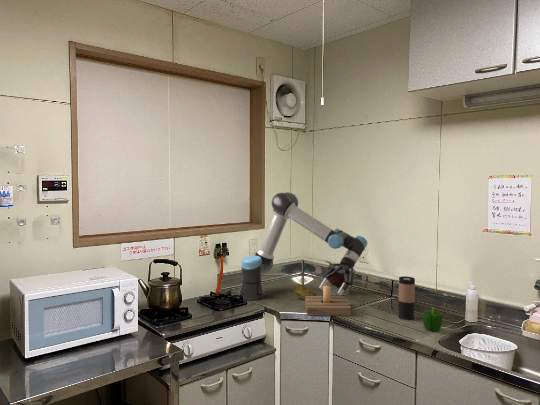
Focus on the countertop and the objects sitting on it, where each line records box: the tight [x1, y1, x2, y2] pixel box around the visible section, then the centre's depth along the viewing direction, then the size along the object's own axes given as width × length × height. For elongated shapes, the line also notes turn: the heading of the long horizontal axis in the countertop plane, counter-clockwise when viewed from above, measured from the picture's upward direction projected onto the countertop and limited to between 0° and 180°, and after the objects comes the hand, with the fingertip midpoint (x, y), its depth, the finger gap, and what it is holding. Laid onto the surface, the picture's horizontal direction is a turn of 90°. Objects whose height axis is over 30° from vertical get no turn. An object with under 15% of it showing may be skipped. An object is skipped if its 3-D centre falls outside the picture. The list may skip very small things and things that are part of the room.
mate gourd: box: [325, 260, 350, 296], centre depth 255 cm, size 16×14×20 cm
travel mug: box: [397, 276, 416, 321], centre depth 207 cm, size 8×8×20 cm
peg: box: [322, 285, 332, 303], centre depth 221 cm, size 4×4×12 cm
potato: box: [293, 284, 317, 301], centre depth 241 cm, size 8×13×8 cm, turn 43°
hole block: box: [304, 295, 352, 316], centre depth 221 cm, size 22×22×4 cm
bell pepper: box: [422, 306, 443, 332], centre depth 190 cm, size 8×8×10 cm
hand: (329, 291), depth 221 cm, fingers open, 13 cm apart
